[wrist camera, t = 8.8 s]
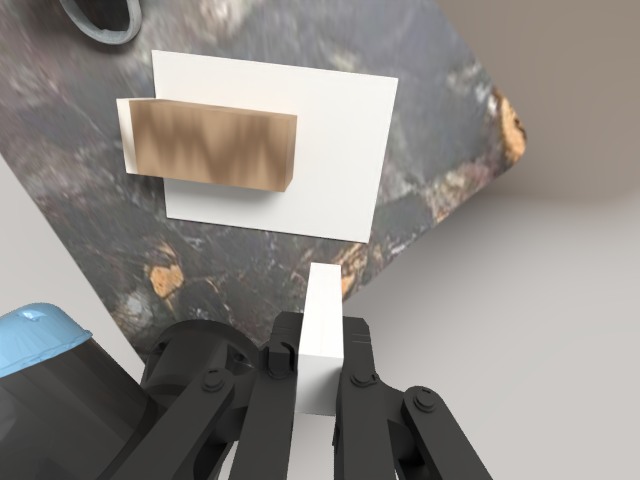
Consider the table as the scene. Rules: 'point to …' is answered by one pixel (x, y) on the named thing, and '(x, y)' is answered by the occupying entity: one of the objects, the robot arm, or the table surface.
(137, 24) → the ceramic mug
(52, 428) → the robot arm
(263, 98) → the white mat
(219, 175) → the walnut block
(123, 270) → the table surface
